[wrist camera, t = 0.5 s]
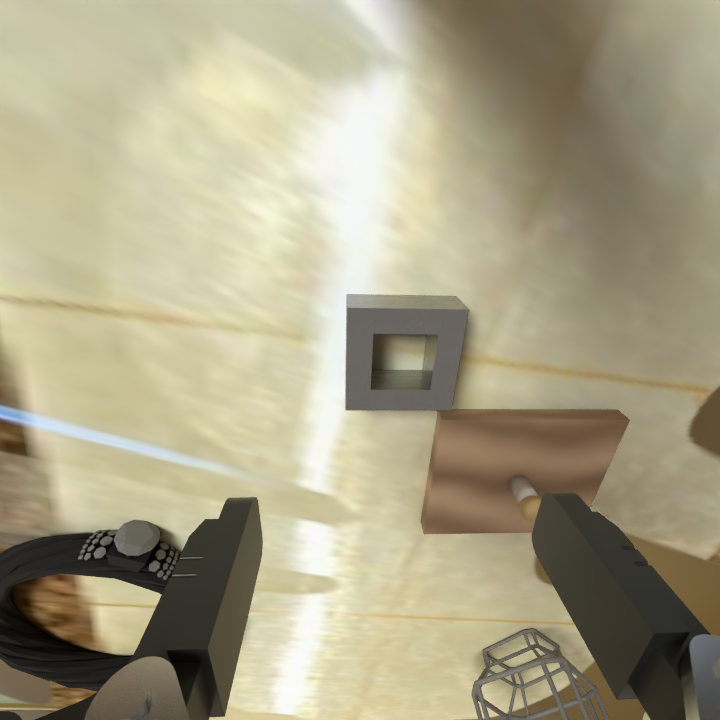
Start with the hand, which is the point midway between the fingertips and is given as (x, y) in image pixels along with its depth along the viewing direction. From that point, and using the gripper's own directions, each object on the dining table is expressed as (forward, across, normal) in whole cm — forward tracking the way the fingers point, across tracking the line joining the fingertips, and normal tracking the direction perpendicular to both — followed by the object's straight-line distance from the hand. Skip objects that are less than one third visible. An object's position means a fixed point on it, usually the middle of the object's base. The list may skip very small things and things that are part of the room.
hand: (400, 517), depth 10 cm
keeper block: (+19, -14, +15) cm, 28 cm away
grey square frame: (+18, -3, +2) cm, 18 cm away
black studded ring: (+21, +28, +34) cm, 49 cm away
